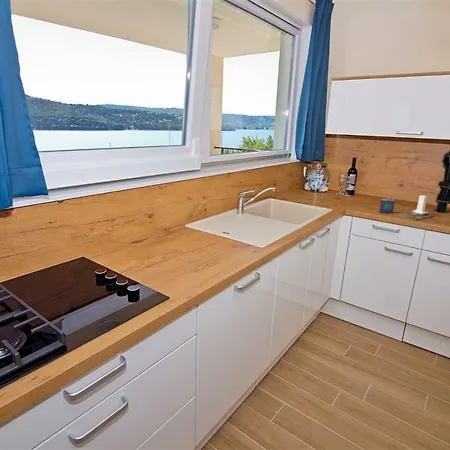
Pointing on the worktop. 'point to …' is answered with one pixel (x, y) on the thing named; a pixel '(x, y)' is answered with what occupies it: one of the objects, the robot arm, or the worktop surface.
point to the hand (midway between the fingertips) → (447, 196)
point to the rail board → (415, 215)
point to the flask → (386, 206)
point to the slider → (421, 205)
